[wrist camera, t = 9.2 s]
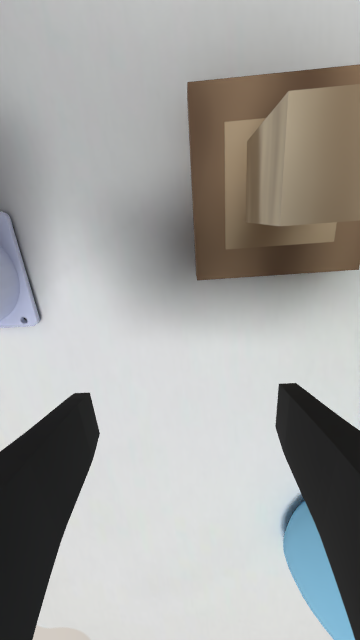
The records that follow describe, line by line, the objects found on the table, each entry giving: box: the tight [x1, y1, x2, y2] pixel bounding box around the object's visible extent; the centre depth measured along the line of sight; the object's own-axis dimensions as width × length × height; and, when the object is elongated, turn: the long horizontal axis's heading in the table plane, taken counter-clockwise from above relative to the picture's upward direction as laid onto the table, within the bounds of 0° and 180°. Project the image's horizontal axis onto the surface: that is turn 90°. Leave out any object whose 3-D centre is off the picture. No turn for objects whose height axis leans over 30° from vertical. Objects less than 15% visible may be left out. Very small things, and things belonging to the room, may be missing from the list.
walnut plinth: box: [187, 65, 360, 280], centre depth 15 cm, size 10×10×2 cm
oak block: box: [246, 84, 360, 226], centre depth 12 cm, size 4×4×6 cm
